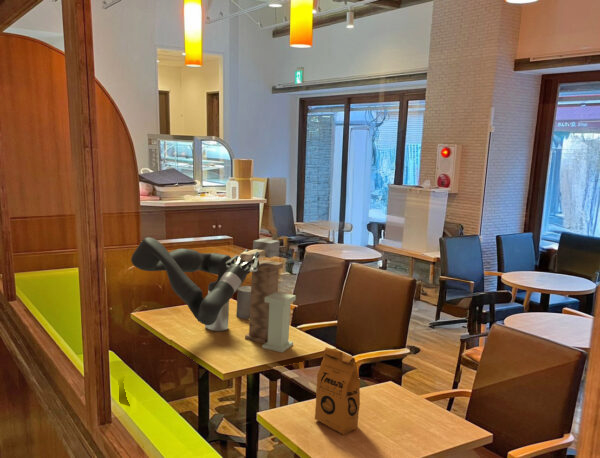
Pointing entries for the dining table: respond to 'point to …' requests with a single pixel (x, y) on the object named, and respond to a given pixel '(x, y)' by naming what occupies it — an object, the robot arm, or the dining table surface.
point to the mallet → (262, 249)
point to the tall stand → (262, 299)
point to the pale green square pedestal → (279, 321)
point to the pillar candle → (243, 302)
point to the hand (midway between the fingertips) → (252, 252)
